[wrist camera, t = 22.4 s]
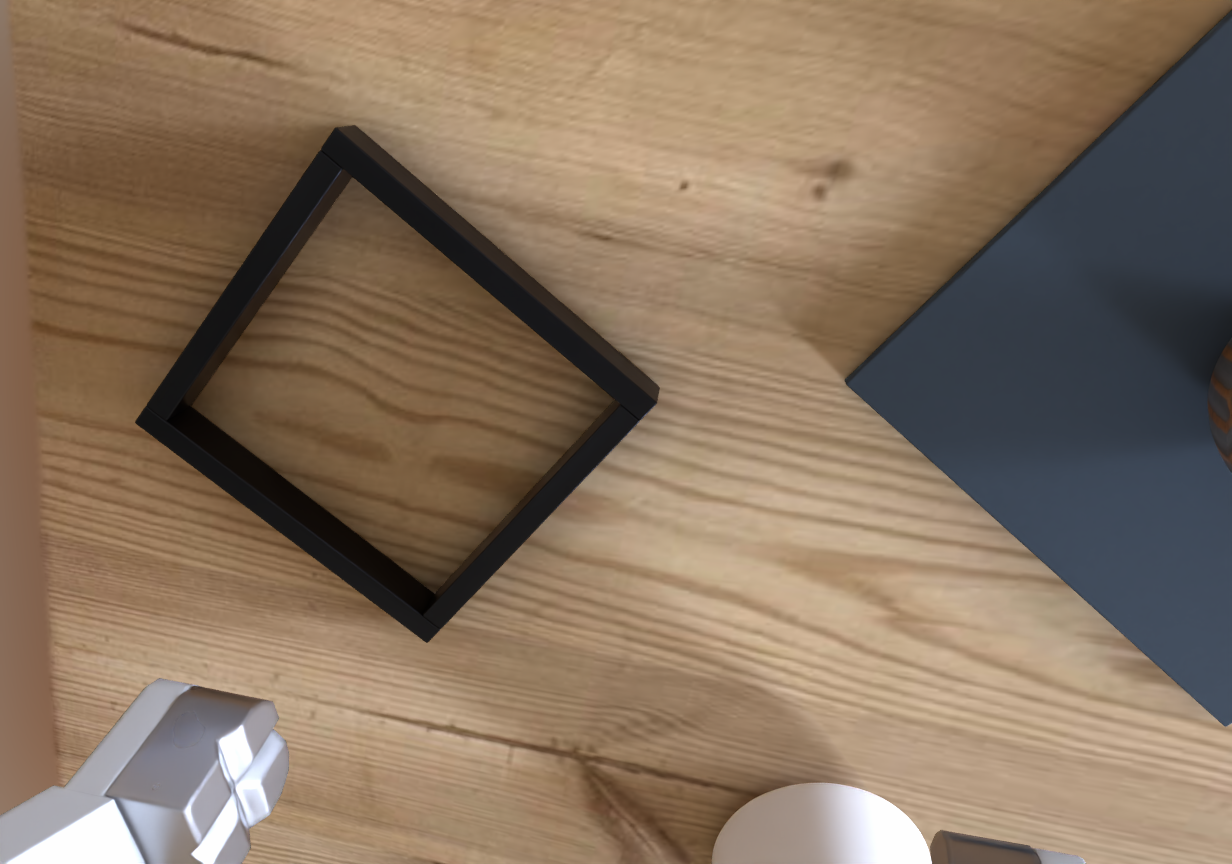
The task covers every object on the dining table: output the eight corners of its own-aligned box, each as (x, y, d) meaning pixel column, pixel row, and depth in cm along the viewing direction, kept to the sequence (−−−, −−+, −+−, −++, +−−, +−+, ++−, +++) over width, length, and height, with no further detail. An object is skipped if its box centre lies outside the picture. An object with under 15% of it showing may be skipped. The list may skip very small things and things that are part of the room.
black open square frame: (159, 407, 30) (133, 423, 29) (355, 124, 26) (334, 126, 25) (439, 619, 32) (427, 644, 31) (660, 387, 28) (657, 403, 27)
